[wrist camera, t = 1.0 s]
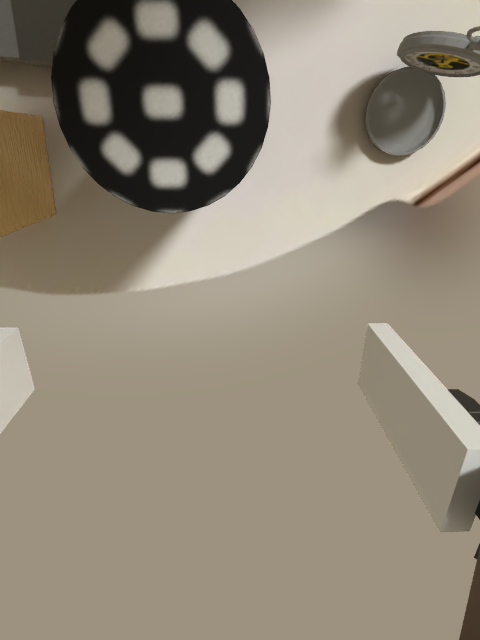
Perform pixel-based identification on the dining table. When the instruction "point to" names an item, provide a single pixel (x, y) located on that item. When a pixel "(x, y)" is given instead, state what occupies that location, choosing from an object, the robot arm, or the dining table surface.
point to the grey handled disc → (31, 29)
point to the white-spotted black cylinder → (161, 98)
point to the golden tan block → (23, 172)
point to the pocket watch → (419, 89)
